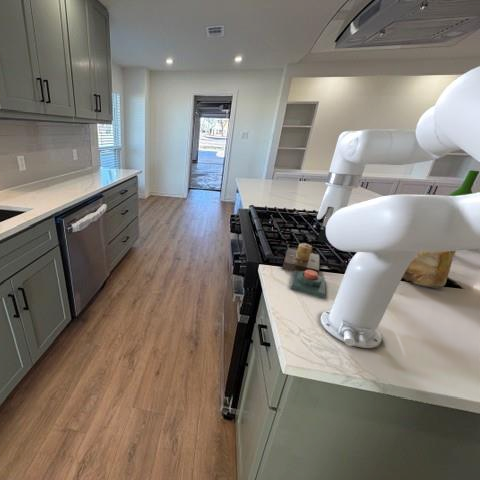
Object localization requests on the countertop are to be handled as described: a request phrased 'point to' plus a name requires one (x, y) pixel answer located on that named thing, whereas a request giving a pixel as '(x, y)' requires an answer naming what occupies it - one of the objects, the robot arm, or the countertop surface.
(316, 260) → the dial panel
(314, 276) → the button
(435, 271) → the rough brown rock
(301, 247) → the dial
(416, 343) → the countertop surface
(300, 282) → the button box
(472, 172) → the wine bottle
